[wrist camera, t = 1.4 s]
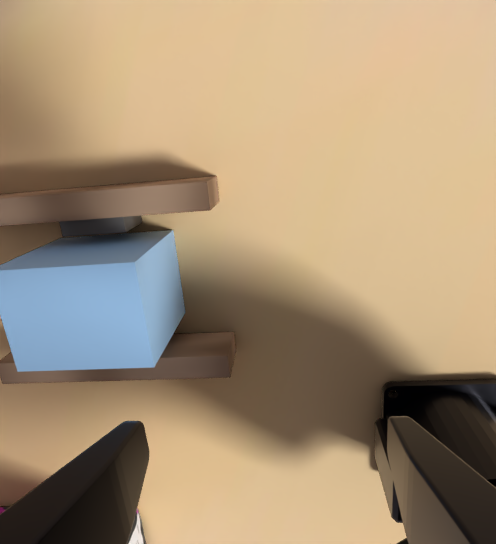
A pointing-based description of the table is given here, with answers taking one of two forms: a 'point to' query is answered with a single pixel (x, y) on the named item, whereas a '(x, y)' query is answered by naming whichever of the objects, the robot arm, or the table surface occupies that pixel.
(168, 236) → the block
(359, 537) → the table surface
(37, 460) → the table surface
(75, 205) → the brown rails
